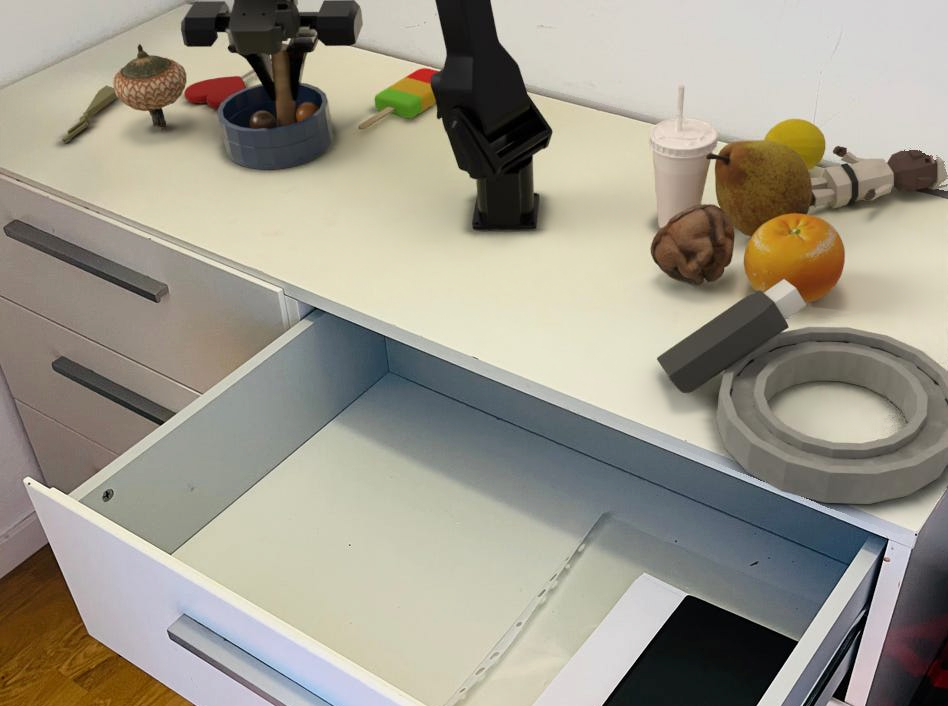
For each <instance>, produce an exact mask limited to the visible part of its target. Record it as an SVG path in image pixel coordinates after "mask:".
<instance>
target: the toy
mask: <svg viewBox="0 0 948 706" xmlns="http://www.w3.org/2000/svg"><path fill="white" fill-rule="evenodd" d="M903 150H904V151H902V150H899V151H897V152H895V153H892V154H891V155H890V157H889V159H888V160H887V161H886V160H885V159H884V158H863V157H862V158H861V157H857V156H856V155H854V153H852V152H850V151H848V148H847V147H844V146H841V145H837V146H835V147H834V149H833V150H832V154H833V155H836V156H837V157H839V158H840V161H842V162H845V163H841V165H835V166H829V167H824V169H823V171H822V173H821V175H820V177H810V178H811V183H812V199H811V203H810V207H813V208H814V209H817V208H819V207H821V206H824V205H825V204H829V206H830V207H831V208H832V209H834V210H835V209H837V208H842V207H843V206H846V205H852V204H855V203H856V202H857V201H863V200H864V201H866V202H869V201H872V202H873V201H874V200H876V199H877V198H879V197H882V196H884V195H887V194H889V193H891V191H892V189H893V188H895V189H896V190H898V191H900V192H906V193H913V192H916V191H919V190H923V189H925V188H928V190H931V191H933V190H938V189H943V188H947V187H948V184H946V185H941V186H939V185H940V184H941V183H942V182H944V181H945V180H946V179H948V178H947V177H948V175H947V172H946V169H945V167H946V166H945V164H944V162H945V161H943V160H942V159H941V158H940V157H938V156H937V155H936V156H937V157H936V158H937V159H936V160H934V159H933V156H932V155H930V156H929V155H926V154H925V153H922V151H920V150H919V151H918V150H909V151H905V150H906V149H903ZM944 166H945V167H944Z"/></svg>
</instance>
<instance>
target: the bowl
mask: <svg viewBox="0 0 948 706" xmlns="http://www.w3.org/2000/svg"><path fill="white" fill-rule="evenodd" d="M305 102H312V103H314V104H316V105H317V106H318V107H319V108H320V109H319V110H318V111H317V112H316V113H314V114H313V115H312V116H310V117H308V118H307V119H305V120H303V121H301V122H298V123H295V124H291V125H288V126H284V127H279V126H278V120H277V111H276V101H271V99H270V98H269V96H268V94H267V92H266V91H265V89H264V87H263V85H262V83H259V84H255V85H252V86H248V87H246V88H245V89H242V90H240V91H238V92H236V93H234V94H232V95H230V96H229V97H228V98H227V99H225V100H224V101H223V102H222V103H221V105H220V107H219V108H218V109H217V111H216V112H217V118H218V123H219V127H220V131H221V136H222V140H223V145H224V149H225V152H226V155H227V157H228V158H229V159H230V161H232V162H233V163H235V164H237V165H239V166H242V167H245V168H249V169H255V170H279V169H287V168H292V167H296V166H300V165H303V164H305V163H308V162H311V161H313V160H315V159H317V158H319V157H321V155H323V154H324V153H325V152H327V151H328V150H329V149H330V147H331V145H332V144H333V141H334V130H333V123H332V117H331V113H330V112H331V111H330V105H329V99H328V96H327V94H326V93H325V92H324V91H323V90H322V89H321V88H319V87H318V86H315V85H312V84H309V83H306V82H301V86H300V91H299V96H298V99H297V101H295V104H296V110H297V108H298V107H299V105H301V104H302V103H305ZM260 110H264V111H268V112H269V113H271V114H272V115H273V116H274V118H275V120H276V128H271V129H250V125H249V122H250V118H251V116H252V115H253V114H254V113H255V112H257V111H260Z"/></svg>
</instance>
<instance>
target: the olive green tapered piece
mask: <svg viewBox="0 0 948 706" xmlns="http://www.w3.org/2000/svg"><path fill="white" fill-rule="evenodd" d="M116 99H118V97H117V96H116V94H115V92H114V87H112V86H109V85H105V86H103V87H102V88H101V89H99V90H98V91H97V93H96V94H95V95H94V97H93V99H92V101H91V102H90V103H89V105H88V107H87V108H86V110H85V111H84V112H83V115H82V116H80V117H79V121H78V122H77V123H76V124H74V125H73V126H71V127H70V128H69V129H67V131H66V132H67V134H66V136H65V137H63V138H62V139H61V140H62V142H63V144H66V143H68V142H69V141H71V140H72V138H75V136H77V135H78V134H79V133H80V132H82V131H83V130H84V129H86V128H88V126H89V123H88V122H90V118H91V117H92V116H94V115H95V114H97V113H98V112H99V111H101V110H102V109H103V108H105V107H106V106H108V104H110V103H111V102H113V101H114V100H116Z"/></svg>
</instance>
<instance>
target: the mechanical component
mask: <svg viewBox="0 0 948 706" xmlns="http://www.w3.org/2000/svg"><path fill="white" fill-rule="evenodd" d="M814 381H817V382H818V381H820V382H821V381H825V382H826V381H827V382H828V381H830V382H842V383H846V384H847V383H848V384H852V385H857V386H861V387H864V388H867V389H869V390H871V391H873V392H875V393H877V394H879V395H881V396H884V397H886V398H887V399H888V400H889V401H890V402H892V404H894V405H895V406H896V407H897V408H898V409H899V410H901V412H902V414H903V416H904V418H905V419H906V422H907V424H906V427H904V428H902V429H900V430H898V431H897V432H894V433H893V434H891V435H889V436H887V437H884V438H880V439H879V438H878V439H875V440H870V441H866V442H833V441H830V440H825V439H821V438H817V437H813V436H809V435H806V434H804V433H802V432H800V431H799V430H797V429H795V428H793V427H791V426H789V425H787V424H785V423H784V422H783V421H782V420H781V419H780V418H779V416H777V415H776V414H775V413H774V412H773V411H772V410H771V409H770V407H769V404H768V402H769V401H770V400H771V399H772V398H773V397H774V395H776V394H778V393H780V392H782V391H784V390H786V389H788V388H789V387H792V386H794V385H799V384H804V383H805V384H806V383H810V382H814ZM715 422H716V425H717V429H718V431H719V434H720V438H721V441H722V444H723V447H724V449H725V450H726V451H727V452H728V453H729V454H730V456H732V458H734V459H735V461H736V462H737V464H739V465H740V467H742V468H743V470H744V471H745V472H747V473H748V474H750V475H751V476H753V477H755V478H757V479H759V480H761V481H763V483H766V484H768V485H770V486H771V487H773V488H775V489H777V490H778V491H780V492H782V493H787V494H790V495H794V496H797V497H802V498H806V499H809V500H814V501H817V502H821V503H825V504H853V505H855V504H857V505H870V504H876V503H880V502H884V501H885V502H886V501H889V500H893V499H894V500H895V499H898V498H902V497H907V496H910V495H912V494H914V493H916V492H917V491H918V490H920V489H922V488H924V487H925V486H927V485H929V484H931V483H933V482H934V481H935V480H937V479H938V478H940V477H941V475H942V473H943V472H944V471H945V469H946V467H947V466H948V370H947V369H946V368H945V367H943V366H942V365H941V364H939V362H937V361H936V360H934V359H933V358H932V357H931V356H929V355H928V354H927V353H926V352H924V351H923V350H921V349H919V348H916V347H915V346H912V345H909V344H908V343H906V342H903V341H900V340H899V339H896V338H893V337H892V336H889V335H886V334H881V333H876V332H872V331H868V330H863V329H857V328H854V327H853V328H852V327H848V326H847V327H846V326H845V327H844V326H843V327H842V326H841V327H839V326H806V327H802V328H801V327H800V328H797V329H791V330H785V331H782V332H781V333H779V334H778V335H776V336H775V337H773V338H772V339H770V340H769V341H767V342H766V343H764V344H763V345H761V346H760V347H758V348H757V349H755V350H754V351H752V352H751V353H749V354H748V355H746V356H745V357H743V358H742V359H740V360H739V361H737V362H736V363H734V364H733V365H732V366H730V367H729V368H727V369H726V370H724V371H723V376H722V378H721V384H720V388H719V392H718V401H717V412H716V421H715Z"/></svg>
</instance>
